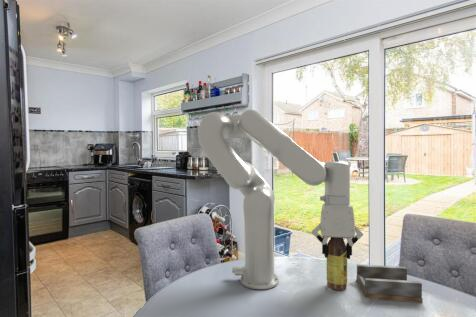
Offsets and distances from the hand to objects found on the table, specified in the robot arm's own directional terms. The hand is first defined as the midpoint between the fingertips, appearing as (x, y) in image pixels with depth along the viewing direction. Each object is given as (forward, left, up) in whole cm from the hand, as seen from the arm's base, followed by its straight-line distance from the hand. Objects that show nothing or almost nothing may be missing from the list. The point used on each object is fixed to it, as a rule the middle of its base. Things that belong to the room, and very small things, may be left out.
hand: (336, 256), depth 97 cm
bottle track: (+15, 0, -10) cm, 18 cm away
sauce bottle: (0, 0, -10) cm, 10 cm away
